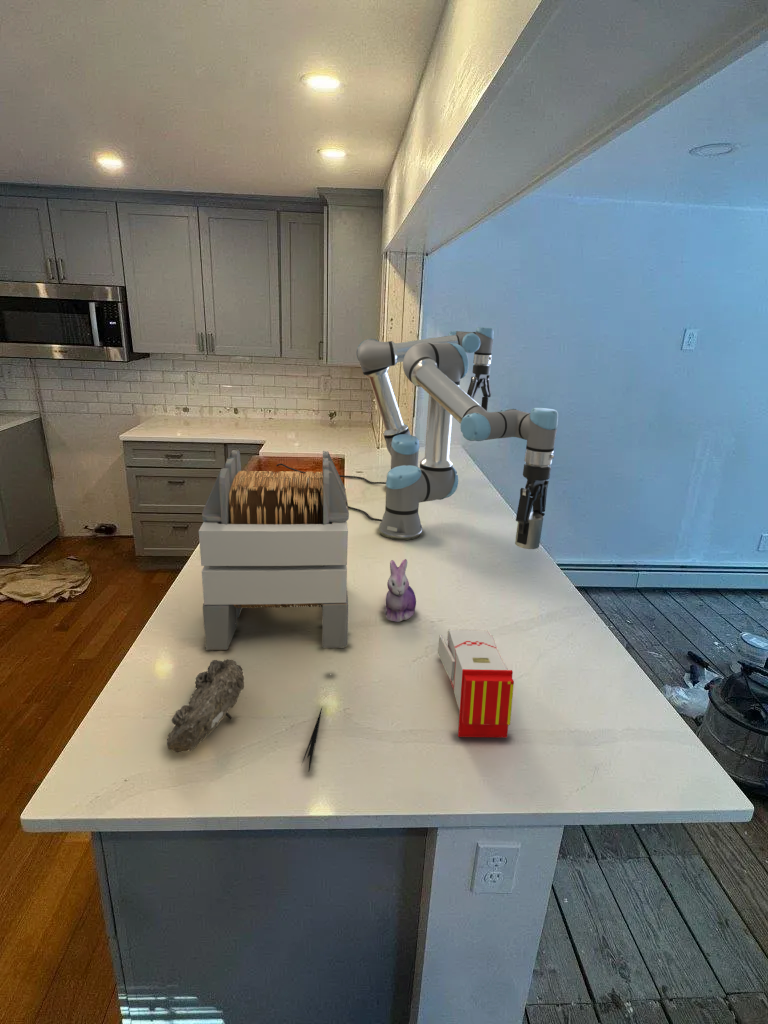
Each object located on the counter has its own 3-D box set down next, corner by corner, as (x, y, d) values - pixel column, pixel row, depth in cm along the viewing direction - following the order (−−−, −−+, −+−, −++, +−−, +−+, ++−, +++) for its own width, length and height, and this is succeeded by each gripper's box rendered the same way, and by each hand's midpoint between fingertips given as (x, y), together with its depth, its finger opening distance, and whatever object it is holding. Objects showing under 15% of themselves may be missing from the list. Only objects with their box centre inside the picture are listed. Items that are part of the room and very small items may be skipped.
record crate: (226, 583, 159) (217, 441, 145) (342, 582, 163) (345, 443, 149) (203, 652, 127) (189, 478, 114) (348, 648, 131) (352, 480, 117)
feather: (331, 679, 122) (336, 673, 122) (307, 777, 96) (313, 769, 95) (324, 675, 122) (329, 669, 121) (298, 772, 95) (304, 764, 95)
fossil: (192, 660, 117) (244, 628, 112) (224, 691, 120) (276, 661, 115) (142, 746, 98) (202, 712, 93) (182, 779, 101) (242, 748, 96)
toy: (488, 613, 130) (523, 677, 101) (484, 667, 133) (517, 744, 104) (435, 612, 130) (455, 676, 101) (432, 666, 133) (451, 743, 103)
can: (531, 539, 172) (535, 511, 169) (543, 548, 166) (548, 519, 162) (510, 540, 170) (514, 512, 167) (522, 550, 164) (526, 520, 161)
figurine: (392, 627, 141) (395, 572, 136) (374, 608, 149) (376, 556, 144) (425, 619, 145) (429, 566, 140) (405, 601, 154) (408, 550, 149)
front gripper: (534, 473, 150) (523, 552, 158) (564, 460, 165) (553, 533, 172) (509, 467, 154) (499, 545, 162) (540, 455, 169) (530, 527, 177)
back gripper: (476, 367, 235) (471, 417, 243) (501, 364, 255) (496, 411, 262) (460, 365, 240) (456, 415, 247) (486, 362, 259) (481, 409, 266)
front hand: (527, 539), depth 167 cm, fingers closed on can, 7 cm apart
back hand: (477, 413), depth 254 cm, fingers open, 13 cm apart
